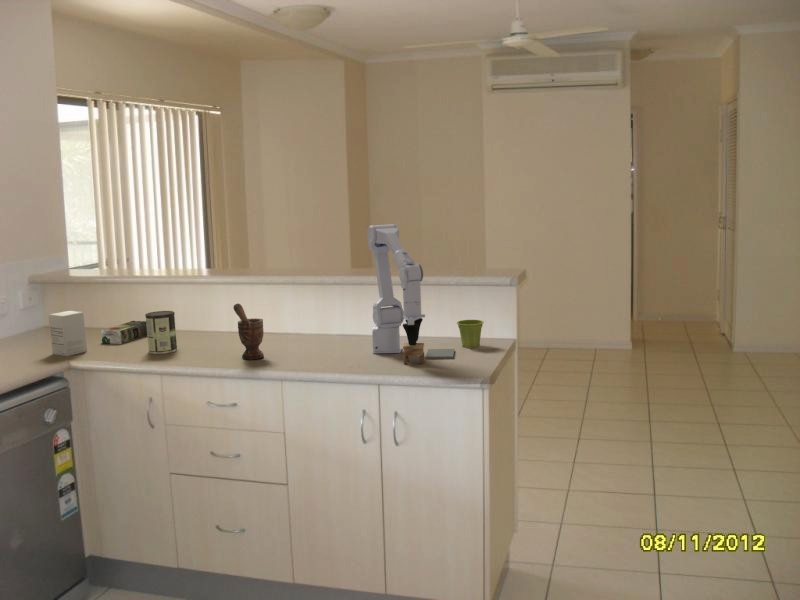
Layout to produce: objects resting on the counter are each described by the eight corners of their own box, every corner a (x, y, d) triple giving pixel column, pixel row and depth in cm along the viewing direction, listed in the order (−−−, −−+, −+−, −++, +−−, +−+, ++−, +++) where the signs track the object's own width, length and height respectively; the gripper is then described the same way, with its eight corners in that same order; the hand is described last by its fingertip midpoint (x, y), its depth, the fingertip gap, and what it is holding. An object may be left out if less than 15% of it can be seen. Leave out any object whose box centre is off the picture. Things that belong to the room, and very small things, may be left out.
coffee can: (167, 347, 331) (164, 309, 329) (182, 350, 324) (180, 312, 322) (142, 351, 324) (139, 313, 321) (158, 355, 317) (155, 316, 314)
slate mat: (425, 359, 295) (425, 356, 295) (428, 351, 307) (428, 349, 307) (453, 358, 294) (452, 356, 294) (454, 351, 306) (454, 348, 306)
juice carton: (120, 345, 339) (119, 329, 338) (99, 344, 342) (98, 328, 341) (152, 335, 357) (151, 320, 357) (132, 335, 361) (131, 320, 360)
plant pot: (482, 349, 308) (482, 324, 307) (455, 348, 310) (455, 324, 308) (485, 343, 317) (485, 319, 316) (459, 343, 319) (458, 319, 318)
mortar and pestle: (258, 362, 299) (254, 304, 296) (233, 362, 300) (229, 304, 297) (268, 355, 310) (264, 298, 307) (244, 355, 312) (240, 299, 309)
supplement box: (73, 349, 333) (69, 310, 330) (87, 351, 328) (84, 311, 325) (51, 354, 325) (47, 314, 323) (66, 356, 320) (62, 315, 318)
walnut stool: (403, 364, 288) (403, 346, 288) (405, 361, 293) (404, 343, 292) (423, 364, 288) (422, 346, 287) (424, 360, 293) (423, 342, 292)
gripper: (422, 304, 280) (424, 347, 282) (426, 298, 294) (427, 338, 296) (400, 305, 281) (402, 347, 283) (404, 298, 295) (406, 338, 297)
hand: (413, 342), depth 290 cm, fingers open, 7 cm apart
